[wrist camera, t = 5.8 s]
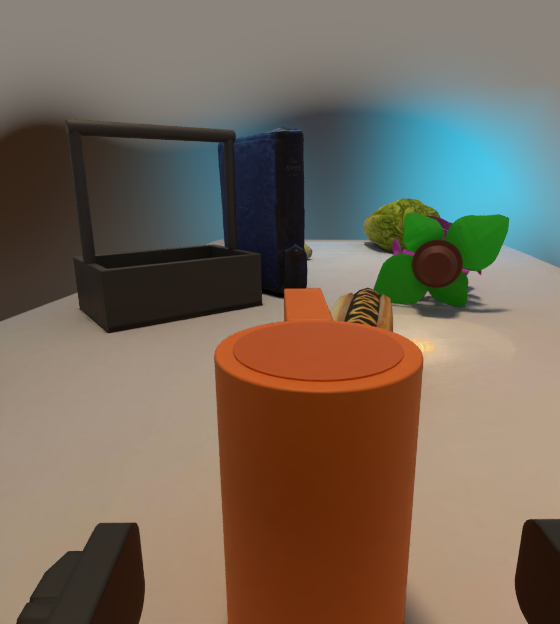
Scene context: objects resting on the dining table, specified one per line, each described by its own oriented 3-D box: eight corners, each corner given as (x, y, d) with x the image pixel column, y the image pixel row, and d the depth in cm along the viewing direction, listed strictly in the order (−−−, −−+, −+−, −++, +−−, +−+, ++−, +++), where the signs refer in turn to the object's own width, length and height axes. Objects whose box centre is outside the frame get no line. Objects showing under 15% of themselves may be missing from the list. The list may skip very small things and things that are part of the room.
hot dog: (310, 400, 30) (310, 326, 28) (335, 336, 42) (336, 283, 41) (390, 408, 28) (394, 331, 27) (391, 340, 41) (394, 285, 40)
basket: (105, 333, 44) (80, 110, 39) (77, 308, 53) (53, 125, 48) (263, 304, 54) (259, 124, 49) (217, 288, 63) (209, 135, 58)
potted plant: (389, 350, 50) (409, 300, 82) (549, 280, 43) (502, 256, 76) (336, 248, 50) (377, 239, 82) (488, 164, 43) (468, 190, 76)
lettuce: (400, 219, 115) (362, 189, 111) (461, 219, 91) (416, 181, 87) (373, 260, 115) (335, 231, 111) (428, 270, 92) (381, 234, 88)
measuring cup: (427, 700, 12) (457, 387, 10) (217, 703, 12) (197, 390, 10) (359, 468, 22) (366, 286, 20) (244, 470, 22) (237, 287, 20)
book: (313, 294, 59) (314, 126, 54) (280, 300, 56) (278, 123, 51) (250, 277, 70) (246, 137, 65) (220, 282, 67) (213, 135, 62)
